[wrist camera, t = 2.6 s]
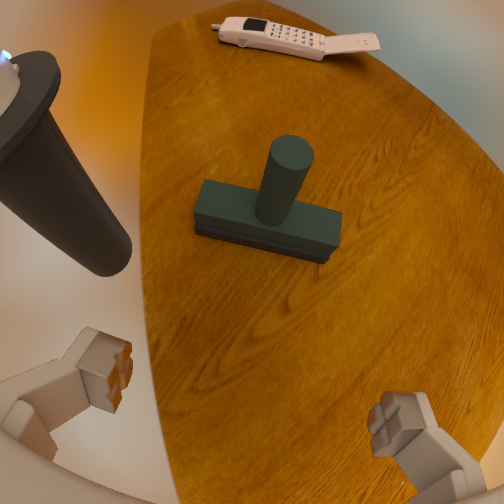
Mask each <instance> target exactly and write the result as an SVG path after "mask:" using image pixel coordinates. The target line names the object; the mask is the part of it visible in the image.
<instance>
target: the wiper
mask: <svg viewBox="0 0 504 504" xmlns="http://www.w3.org/2000/svg"><path fill="white" fill-rule="evenodd" d="M313 160H314V152H313V149H312V147H311V146H310V144H309V143H308V142H307V141H305V140H304V139H302V138H300V137H298V136H294V135H283V136H280V137H278V138H276V139H275V140H274V141H273V142H272V144H271V147H270V151H269V155H268V159H267V163H266V167H265V171H264V175H263V179H262V183H261V187H260V191H256V190H251V189H247V188H243V187H238V186H234V185H229V184H225V183H220V182H216V181H211V180H206V179H204V182H203V185H202V188H201V191H200V194H199V197H198V200H197V203H196V206H195V209H194V217H195V226H194V229H195V234H198V235H202V236H206V237H210V238H215V239H219V240H223V241H228V242H232V243H236V244H240V245H245V246H249V247H253V248H257V249H262V250H266V251H270V252H274V253H279V254H283V255H287V256H291V257H295V258H300V259H304V260H308V261H312V262H316V263H321V264H324V263H326V262H327V261H328V260H329V258H330V254H331V253H333V252H334V251H335V250H336V249H337V248H338V247H339V240H340V230H341V220H342V213H341V212H337V211H334V210H330V209H326V208H323V207H319V206H315V205H312V204H308V203H304V202H300V201H296V200H295V198H296V196H297V194H298V192H299V190H300V188H301V186H302V183H303V181H304V179H305V177H306V175H307V173H308V171H309V169H310V167H311V165H312V162H313Z"/></svg>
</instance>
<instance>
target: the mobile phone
mask: <svg viewBox="0 0 504 504" xmlns="http://www.w3.org/2000/svg"><path fill="white" fill-rule="evenodd" d="M212 28H213V29H220V30H219V35H218V36H219V39H220V40H221V41H224V42H228V43H232V44H237V45H238V46H240V47H252V48H258V49H264V50H270V51H275V52H280V53H285V54H290V55H295V56H299V57H304V58H308V59H312V60H316V61H321V60H322V59H323V56H324V55H330V54H340V53H354V52H368V51H381V47H380V43H379V40H378V38H377V36H376V34H375V33H359V34H348V35H338V36H330V37H324V35H322V34H321V35H320V34H317V33H314V32H310V31H306V30H302V29H298V28H294V27H290V26H286V25H281V24H277V23H272V22H270V21H268V20H263V19H257V18H248V17H228V18H226V19H225V21H224V23H223V24H222V25H218V24H212Z"/></svg>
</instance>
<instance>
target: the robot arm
mask: <svg viewBox="0 0 504 504" xmlns="http://www.w3.org/2000/svg"><path fill="white" fill-rule="evenodd" d="M8 58H9V59H11V56H10V54H9V53H7V52H5V51H3V50H2V49H1V47H0V117H1V116H2V114H3V113H4V112H5V111H6V109H7V108H8V107H9V106H10V104H11V103H12V101H13V100H14V98H15V96H16V94H17V92H18V90H19V87H20V79H19V77H18V72H19V69H20V68H19V66H18V65H17V64H13V65H12V64H11V62H10V61H9V59H8ZM131 352H132V346H131V343H130V342H128V341H125V340H123V339H120V338H117V337H114V336H112V335H109V334H106V333H103V332H101V331H98V330H95V329H93V328H90V327H86V328H84V329H83V330H82V331H81V333H80V334H79V335H78V337H77V338H76V339H75V341H74V342H73V343H72V345H71V346H70V347H69V349H68V350H67V352H66V353H65V355H64V356H63V357H62V359H61V360H58V359H55V360H52V361H50V362H48V363H45V364H42V365H40V366H38V367H35V368H33V369H30V370H28V371H26V372H23V373H21V374H18V375H16V376H13V377H11V378H8V379H6V380H3V381H1V382H0V504H154V503H151V502H148V501H144V500H141V499H138V498H135V497H132V496H129V495H126V494H123V493H121V492H118V491H115V490H113V489H110V488H107V487H105V486H102V485H100V484H98V483H95V482H93V481H90V480H88V479H86V478H84V477H82V476H79V475H77V474H75V473H73V472H71V471H69V470H67V469H65V468H63V467H61V466H59V465H57V464H55V463H53V462H52V460H53V458H54V456H55V454H56V452H57V449H58V448H57V445H56V443H55V442H54V440H53V439H52V437H51V436H50V434H49V432H51V431H52V430H54V429H55V428H57V427H58V426H60V425H62V424H63V423H65V422H67V421H68V420H70V419H71V418H73V417H74V416H76V415H77V414H79V413H81V412H82V411H84V410H85V409H87V408H88V407H90V405H92V406H95V407H97V408H100V409H102V410H105V411H108V412H111V413H114V414H115V412H116V410H117V408H118V405H119V403H120V401H121V399H122V395H121V390H123V389H125V388H126V387H127V386H128V384H129V382H130V378H131V375H132V369H133V360H132V359H131V358H130V354H131ZM380 399H381V402H380V403H378V404H376V405H374V406H373V408H372V409H371V410H370V412H369V415H368V418H367V426H368V431H369V432H370V433H371V434H372V435H373V437H372V439H371V441H370V443H371V448H372V453H373V457H390V456H394V457H393V458H394V459H395V461H396V462H397V464H398V465H399V466H400V468H401V469H402V470H403V472H404V473H405V474H406V476H407V477H408V479H409V480H410V481H411V483H412V484H413V485H414V487H415V488H416V489H417V491H418V492H419V494H417V495H416V496H414V497H412V498H411V499H410V500H409V501H408V504H504V484H503V485H501V486H498V487H496V488H494V489H491V490H489V491H487V488H486V484H485V481H484V478H483V474H482V471H481V468H480V465H479V463H478V462H477V461H476V460H475V459H474V458H473V457H472V456H471V455H470V454H469V453H468V452H467V451H466V450H464V449H463V448H462V447H461V446H460V445H459V444H458V443H457V442H456V441H455V440H454V439H453V438H452V437H451V436H450V435H449V434H448V433H447V432H446V431H445V430H443V429H442V428H438V425H437V422H436V419H435V417H434V414H433V411H432V408H431V406H430V403H429V400H428V398H427V395H426V394H425V393H424V392H404V391H387V392H385V393H384V394H383V395H382V396H381V397H380Z"/></svg>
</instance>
